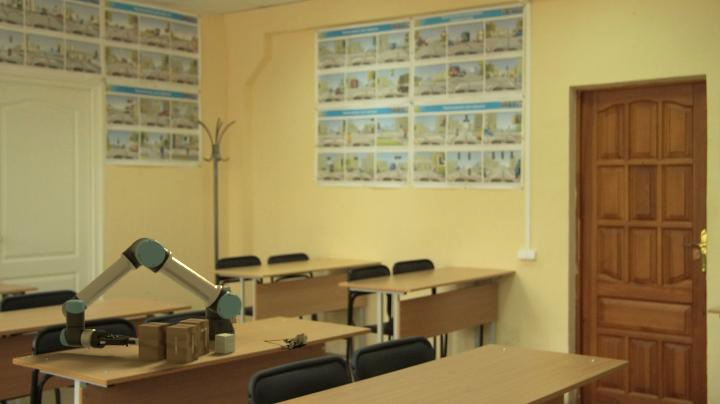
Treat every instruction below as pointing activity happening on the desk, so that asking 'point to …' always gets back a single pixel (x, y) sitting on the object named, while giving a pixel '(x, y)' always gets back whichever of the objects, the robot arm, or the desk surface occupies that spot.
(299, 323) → the desk surface
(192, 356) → the block one
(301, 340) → the toy
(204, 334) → the block seven
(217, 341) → the product box
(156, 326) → the plain block
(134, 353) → the desk surface
